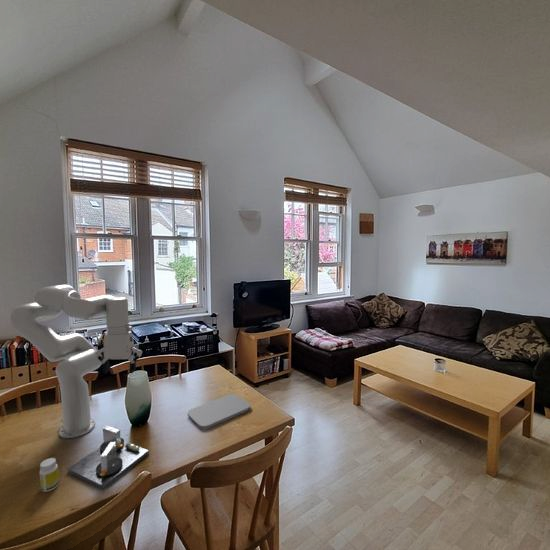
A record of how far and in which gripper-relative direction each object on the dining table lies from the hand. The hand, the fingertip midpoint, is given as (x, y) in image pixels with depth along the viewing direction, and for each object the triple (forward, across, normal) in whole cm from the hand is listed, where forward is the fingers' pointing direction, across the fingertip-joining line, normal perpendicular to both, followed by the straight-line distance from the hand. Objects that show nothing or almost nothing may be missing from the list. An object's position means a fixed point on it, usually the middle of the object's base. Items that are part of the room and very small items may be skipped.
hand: (119, 372), depth 119 cm
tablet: (+27, -37, -16) cm, 49 cm away
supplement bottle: (+28, +12, +24) cm, 39 cm away
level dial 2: (+26, 0, +7) cm, 27 cm away
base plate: (+27, -2, +14) cm, 31 cm away
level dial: (+26, -4, +19) cm, 32 cm away
